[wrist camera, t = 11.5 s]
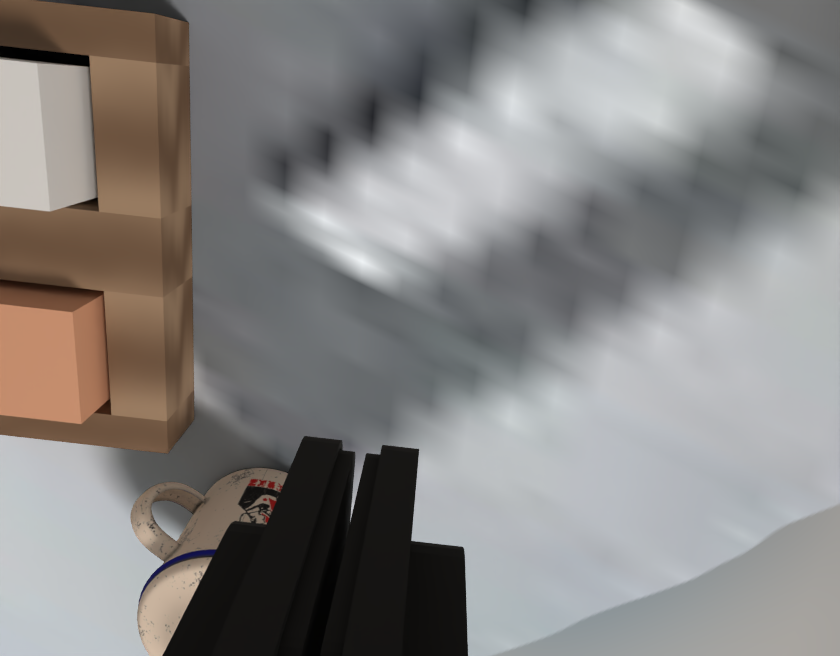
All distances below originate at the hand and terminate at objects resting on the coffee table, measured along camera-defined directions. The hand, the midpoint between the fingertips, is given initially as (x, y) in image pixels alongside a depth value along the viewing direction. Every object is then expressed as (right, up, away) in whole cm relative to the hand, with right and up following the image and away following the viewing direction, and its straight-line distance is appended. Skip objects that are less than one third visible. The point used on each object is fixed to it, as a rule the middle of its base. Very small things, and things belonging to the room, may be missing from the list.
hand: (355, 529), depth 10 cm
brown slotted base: (-18, +8, +27) cm, 33 cm away
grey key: (-18, +13, +23) cm, 31 cm away
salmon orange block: (-19, +3, +27) cm, 33 cm away
